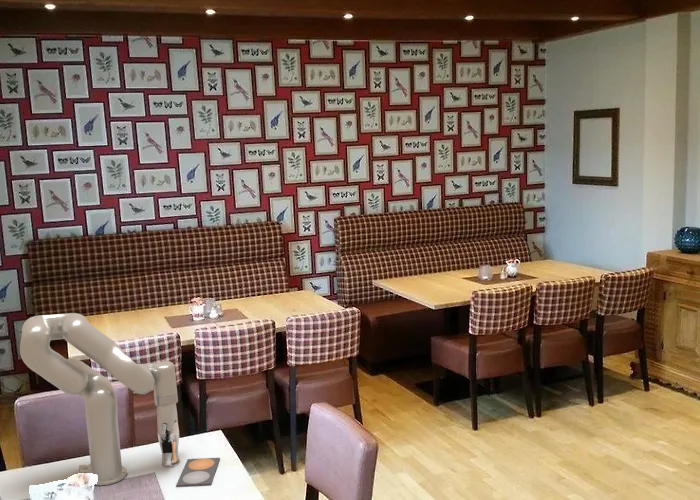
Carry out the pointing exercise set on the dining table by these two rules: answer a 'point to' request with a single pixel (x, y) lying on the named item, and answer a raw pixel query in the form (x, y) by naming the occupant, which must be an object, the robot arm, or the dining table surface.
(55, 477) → the dining table surface
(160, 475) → the dining table surface
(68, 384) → the robot arm
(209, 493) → the dining table surface
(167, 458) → the beer glass
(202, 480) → the mat
